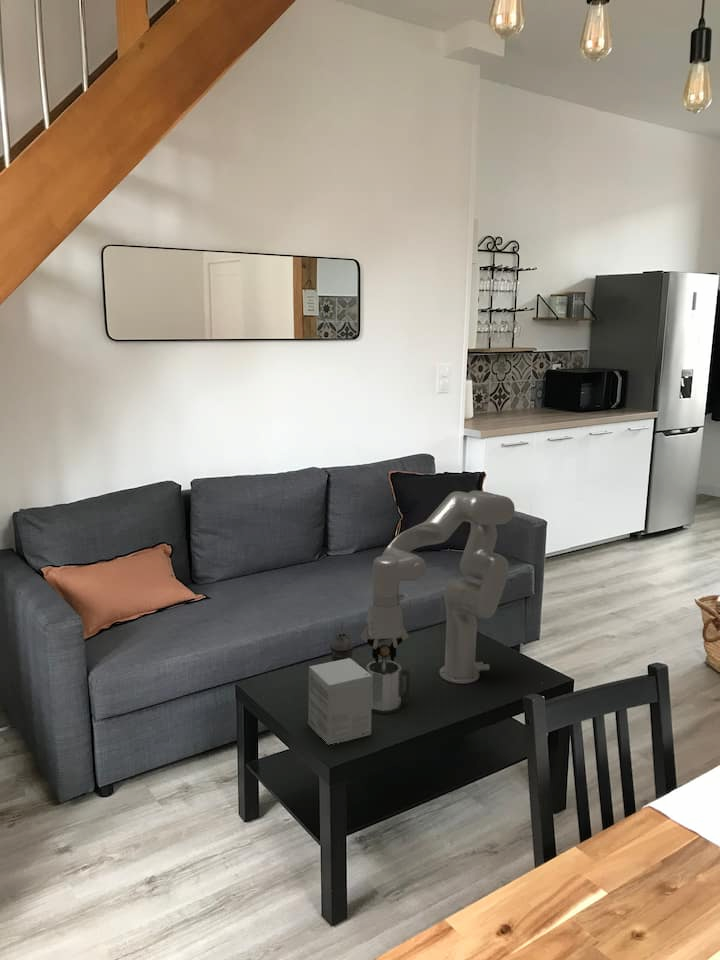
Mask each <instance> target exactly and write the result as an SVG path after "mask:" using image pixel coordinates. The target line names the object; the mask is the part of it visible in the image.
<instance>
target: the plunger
mask: <svg viewBox="0 0 720 960" xmlns="http://www.w3.org/2000/svg"><path fill="white" fill-rule="evenodd" d="M377 646H378V649H379V654H378V656H379V657H381V660H382V674H386V660H387V657H390V654H391V647H390V644H388V643H386V642H383V643H380V644H379V645H377Z"/></svg>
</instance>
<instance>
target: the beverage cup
mask: <svg viewBox="0 0 720 960" xmlns="http://www.w3.org/2000/svg"><path fill="white" fill-rule="evenodd" d="M343 622H344V621H343ZM343 622H340V633H338V634H337V635H335V636H334V637H333V639H332V640H331V643H330V653H331V657H332V658H331V659H332V662H333V661H338V660H343V659H347V658H351V659H352V657H353V654H354V647H355V645H354V641H353V640H352V637H350V636H349V635H348V634H346V633H344V623H343Z"/></svg>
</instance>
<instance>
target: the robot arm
mask: <svg viewBox="0 0 720 960" xmlns="http://www.w3.org/2000/svg"><path fill="white" fill-rule="evenodd" d="M515 508H516V507H515V503H514V502H513V500H512V499H511V498H510V497H507V496H506V495H505V496H504V495H500V494H495V493H492V492H488V491H483V490H477V489H476V490H471V491H469V492H465V491H459V490H455V491H453V492H450V493H449V494H448V495H447V496H446V497H445V498H444V500H443V501H442V502H440V504H439V505H438V506H437V508H436V509H435V510H433V512H432V513H431V514H430V515H429V516H428V518H427V519H426V520H425V521H423V522H421V523H419V524H417V525H414V526H412V527H410V528H408V529H406V530H404V531H403V532H400V533H399V534H398V535H396V536H395V537H394V538H393V540H392V541H391V542H390V543H389V544H388V545H387V547H386V548H385V549H384V551H383V552H382V555H380V556H376V557H375V558H374V559H373V564H372V567H373V568H372V599H371V600H372V601H370V602H369V604H368V608H367V614H366V615H367V617H366V626H365V627H366V628H365V629H364V630H363V632H362V633H361V634H360V638H361V640H362V641H364V642H365V643H367V644H368V645H370V647H371V648H372V649H371V651H372V652H371V654H372V659H374V661H376V662H378V660H379V649H378V646H379V645H378V643H379V640H391V643H390V644H389V646H390V647H391V654H390V655H389V657H390V661H394V662H395V658H396V657H397V648H398V647H399V645H400V644H401V643H402V642H403V641H405V640H407V638H409V633H408V632H407V631H406V629H405V628H404V624H403V609H402V605H401V602H400V601H402V600H405V596H404V595H403V594H400V582H412V581H417V580H419V579H420V578H422V577H423V576H424V575H425V573H426V571H427V570H426V569H427V564H426V562H425V559H423V558H422V557H421V556H419V555H417V554H415V553H412V551H414V550H415V549H417V548H421V547H424V546H431V545H433V546H434V545H438V544H442V543H445V542H446V541H448V540H449V538H451V536H452V535H453V534H454V532H456V530H457V529H458V528H459V526H461V524H462V523H463V522H467V523H470V532H469V535H468V539H467V542H466V545H465V548H464V550H463V553H462V555H461V559H460V562H459V569H460V571H461V573H462V574H463V575H465V576H467V577H469V578H472V579H473V580H474V579H475V580H477V581H481V584H477V583H475V582H472V581H469V580H466V579H461V578H456V579H452V580H450V581H449V582H448V583H447V585H446V587H445V589H444V604H445V610H446V626H445V627H446V629H445V648H444V649H445V650H444V651H445V653H444V665H443V666H442V667H441V668H439V676H440V677H441V678H442V679H443V680H445V681H446V682H450V683H453V684H465V685H466V684H470V683H474V682H476V681H477V680H479V678H480V672H481V671H490V670H491V669H490V664H489V663H487V664H486V663H485V664H484V661H478V662H477V661H476V650H477V649H476V648H477V630H478V628H477V627H478V623H477V618H479V619H483V620H486V619H489V618H492V616H493V615H494V614H495V613H496V610H497V608H498V607H499V604H500V601H501V598H502V595H503V592H504V589H505V587H506V583H507V580H508V577H509V572H510V565H509V562H508V559H507V558H506V557H504V556H503V555H502V554H500V553H496V552H494V551H495V546H496V542H497V540H498V539H497V538H498V531H497V527H496V525H505V524H507V523H509V522H510V521H511V520H512V518H513V517H514V514H515Z"/></svg>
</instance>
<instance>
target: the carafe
mask: <svg viewBox="0 0 720 960" xmlns="http://www.w3.org/2000/svg"><path fill="white" fill-rule="evenodd" d="M365 670H366V671H367V672H368V673H369V674H370V675H372V708H371V713H374V714H378V715H391V714H394V713H396V712H398V711H400V709H401V707H402V706H401V705H402V703H401V701H402V699H405V698H406V699H407V698H410V683H411V681H410V680H411V678H410V677H411V673H410V670H409V669H402V667H401V664H400V663H397V662H396V661H395V660H394V661H391V660H387V659H386V674H382V659H378V662H376V661H375V660H374V661H370V662H368V664H367V665H366V666H365ZM402 677H403V678H404V682H403V684H404V685H403V691H402Z"/></svg>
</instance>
